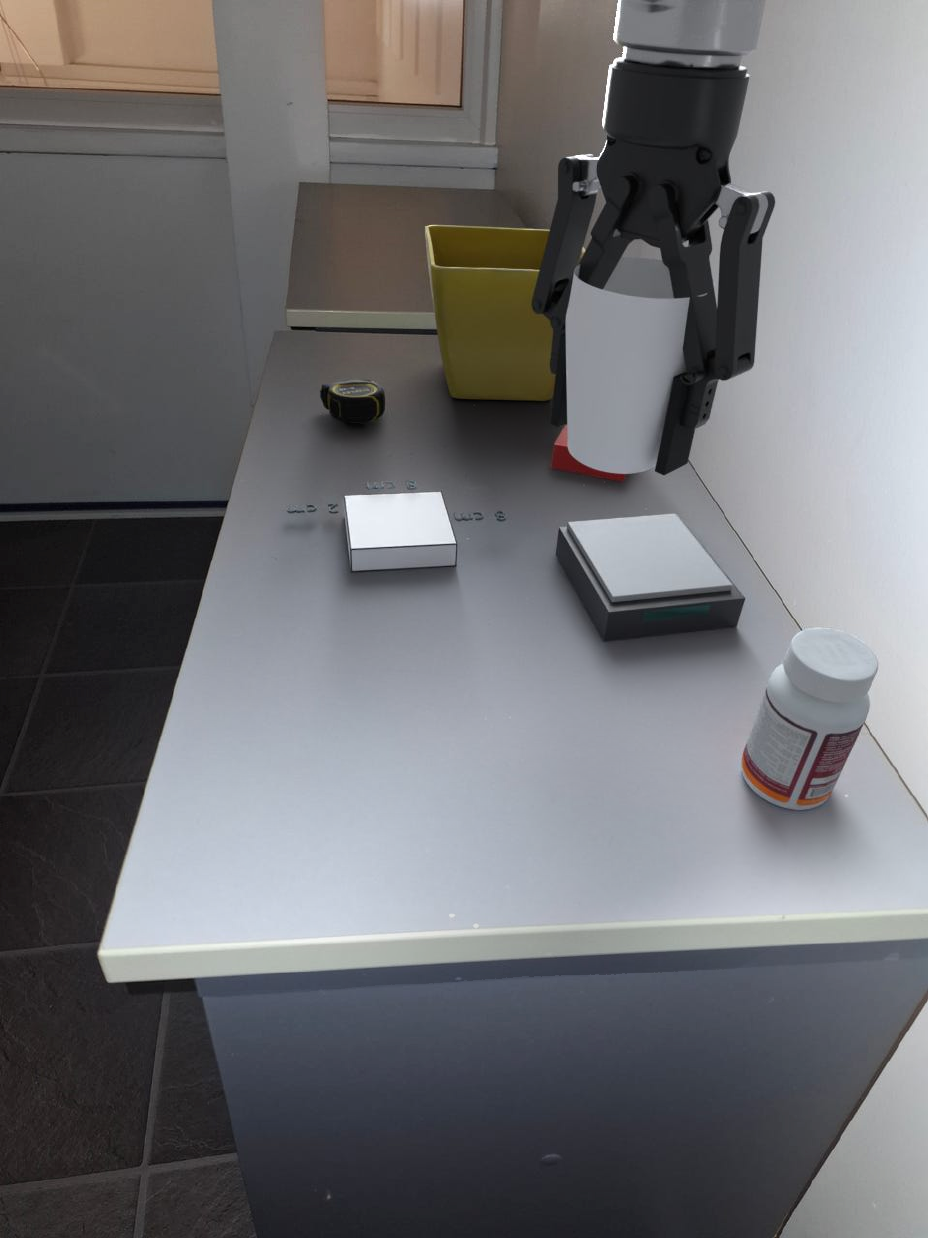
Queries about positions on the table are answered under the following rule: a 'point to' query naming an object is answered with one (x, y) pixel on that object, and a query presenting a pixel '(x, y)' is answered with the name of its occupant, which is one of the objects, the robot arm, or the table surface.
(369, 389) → the tape measure
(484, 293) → the flower pot
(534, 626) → the table surface
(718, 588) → the scale
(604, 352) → the cup
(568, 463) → the red rectangular block
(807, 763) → the pill bottle
